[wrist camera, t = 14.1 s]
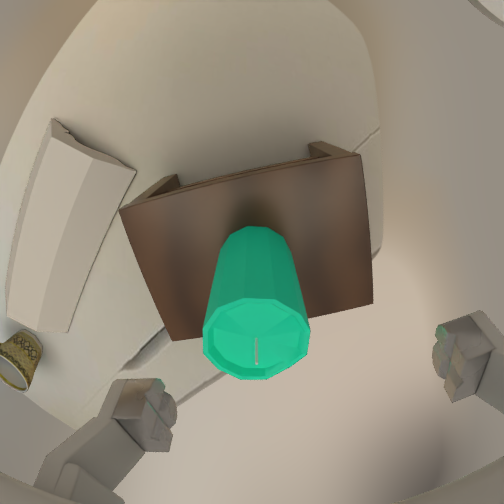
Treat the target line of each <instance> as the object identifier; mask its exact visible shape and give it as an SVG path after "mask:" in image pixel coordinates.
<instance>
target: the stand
mask: <svg viewBox="0 0 504 504" xmlns="http://www.w3.org/2000/svg"><path fill="white" fill-rule="evenodd" d="M308 146H309V151H310V156H311V157H309V158H303V159H298V160H293V161H288V162H283V163H278V164H273V165H268V166H264V167H259V168H254V169H250V170H246V171H241V172H237V173H233V174H228V175H224V176H220V177H216V178H212V179H208V180H204V181H200V182H196V183H192V184H188V185H185V186H181V187H180V184H179V181H178V177H177V174H174V175H170V176H167V177H164V178H162V179H161V180H159V181H158V182H157V183H155V184H154V185H153V186H151V187H150V188H149V189H147V190H146V191H145V192H143V193H142V194H141V195H139V196H138V197H137V198H136V199H134V200H133V201H132V202H130V203H129V204H127V205H124V206H123V207H122V208H120V209H119V214H120V217H121V219H122V222H123V225H124V228H125V230H126V233H127V236H128V239H129V241H130V244H131V247H132V249H133V252H134V254H135V257H136V259H137V262H138V264H139V267H140V269H141V272H142V274H143V277H144V279H145V282H146V284H147V286H148V289H149V291H150V293H151V296H152V298H153V300H154V303H155V305H156V307H157V309H158V312H159V314H160V316H161V318H162V320H163V323H164V325H165V327H166V329H167V331H168V333H169V336H170V338H171V340H172V341H178V340H186V339H193V338H200V337H203V325H204V320H205V316H206V311H207V306H208V302H209V297H210V293H211V288H212V284H213V279H214V275H215V271H216V266H217V262H218V257H219V253H220V249H221V248H222V246H223V245H224V243H225V242H226V240H227V239H228V237H229V236H230V234H232V233H234V232H236V231H238V230H240V229H242V228H245V227H247V226H257V227H268V228H270V229H271V230H273V231H274V232H276V233H278V234H279V235H281V236H283V237H284V239H285V241H286V243H287V245H288V247H289V249H290V251H291V254H292V258H293V261H294V265H295V269H296V273H297V277H298V281H299V285H300V289H301V293H302V297H303V301H304V306H305V310H306V314H307V318H313V317H317V316H322V315H327V314H331V313H336V312H340V311H345V310H348V309H353V308H357V307H361V306H366V305H369V304H373V278H372V258H371V243H370V230H369V219H368V209H367V199H366V191H365V182H364V175H363V167H362V160H361V155H360V154H358V153H355V152H352V153H351V152H349V151H346V150H344V149H341V148H339V147H336V146H334V145H331V144H328V143H326V142H323V141H319V142H313V143H309V144H308Z"/></svg>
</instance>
